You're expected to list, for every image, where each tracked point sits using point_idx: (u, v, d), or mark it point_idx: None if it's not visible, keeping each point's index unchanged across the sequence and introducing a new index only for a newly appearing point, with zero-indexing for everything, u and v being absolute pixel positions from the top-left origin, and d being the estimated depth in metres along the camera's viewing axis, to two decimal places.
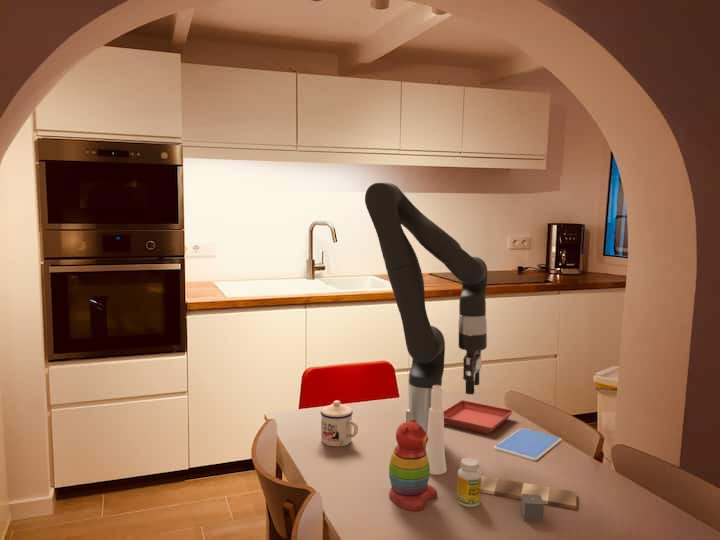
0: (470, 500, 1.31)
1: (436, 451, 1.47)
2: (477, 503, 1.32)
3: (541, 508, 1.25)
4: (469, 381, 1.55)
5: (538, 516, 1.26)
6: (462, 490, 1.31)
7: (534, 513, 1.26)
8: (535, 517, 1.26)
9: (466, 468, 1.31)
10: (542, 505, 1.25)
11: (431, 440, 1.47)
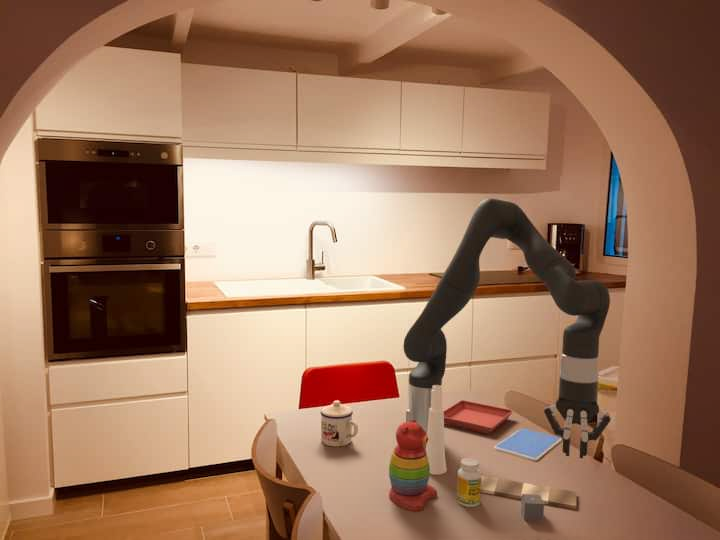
0: (470, 500, 1.31)
1: (436, 451, 1.47)
2: (477, 503, 1.32)
3: (541, 508, 1.25)
4: None
5: (538, 516, 1.26)
6: (462, 490, 1.31)
7: (534, 512, 1.26)
8: (535, 517, 1.26)
9: (466, 468, 1.31)
10: (542, 505, 1.25)
11: (431, 440, 1.47)
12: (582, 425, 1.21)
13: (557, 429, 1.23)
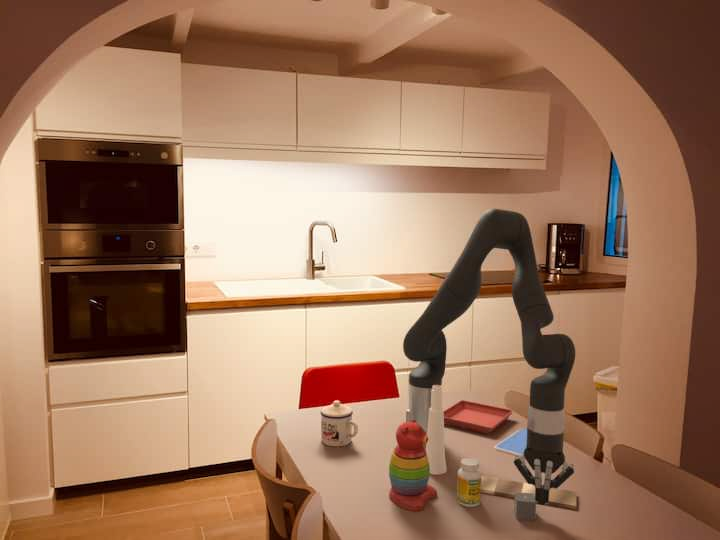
0: (470, 500, 1.31)
1: (436, 451, 1.47)
2: (477, 503, 1.32)
3: (534, 507, 1.26)
4: None
5: (530, 514, 1.26)
6: (462, 490, 1.31)
7: (526, 511, 1.26)
8: (527, 515, 1.26)
9: (466, 468, 1.31)
10: (534, 503, 1.26)
11: (431, 440, 1.47)
12: (546, 474, 1.24)
13: (529, 478, 1.26)
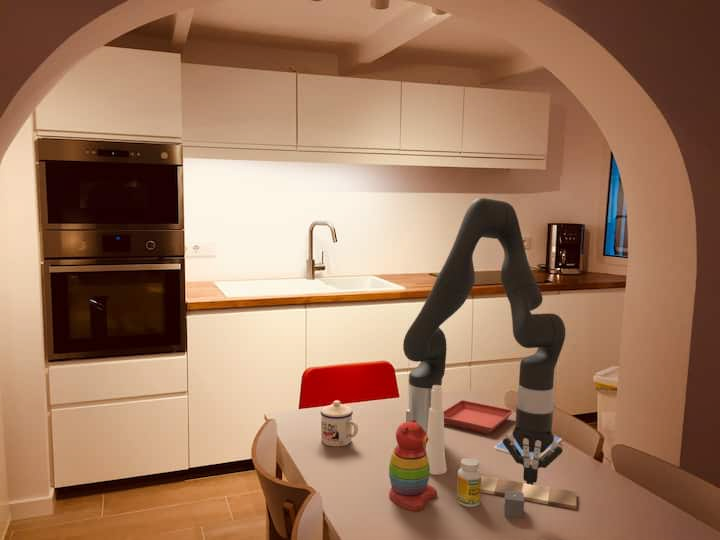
0: (470, 500, 1.31)
1: (436, 451, 1.47)
2: (477, 503, 1.32)
3: (522, 506, 1.27)
4: (538, 467, 1.26)
5: (518, 513, 1.27)
6: (462, 490, 1.31)
7: (514, 509, 1.27)
8: (515, 514, 1.27)
9: (466, 468, 1.31)
10: (522, 502, 1.27)
11: (431, 440, 1.47)
12: (535, 453, 1.24)
13: (518, 458, 1.26)
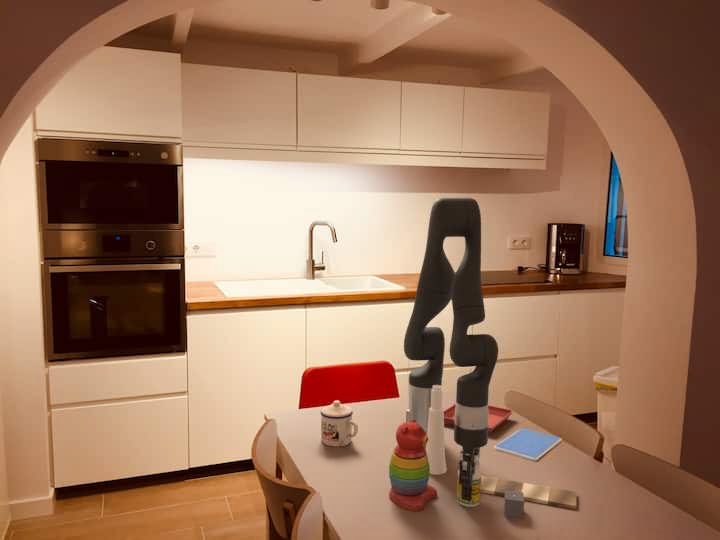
0: None
1: (436, 451, 1.47)
2: (477, 503, 1.32)
3: (522, 505, 1.27)
4: None
5: (518, 513, 1.27)
6: None
7: (514, 509, 1.27)
8: (515, 514, 1.27)
9: None
10: (522, 502, 1.27)
11: (431, 440, 1.47)
12: (478, 461, 1.34)
13: (470, 480, 1.27)
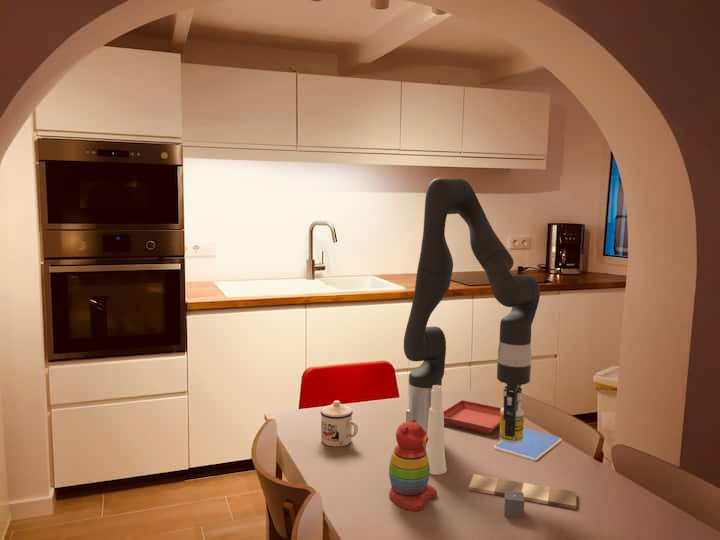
0: None
1: (436, 451, 1.47)
2: (520, 439, 1.36)
3: (522, 506, 1.27)
4: None
5: (518, 513, 1.27)
6: None
7: (514, 509, 1.27)
8: (515, 514, 1.27)
9: None
10: (522, 502, 1.27)
11: (431, 440, 1.47)
12: None
13: (515, 415, 1.32)
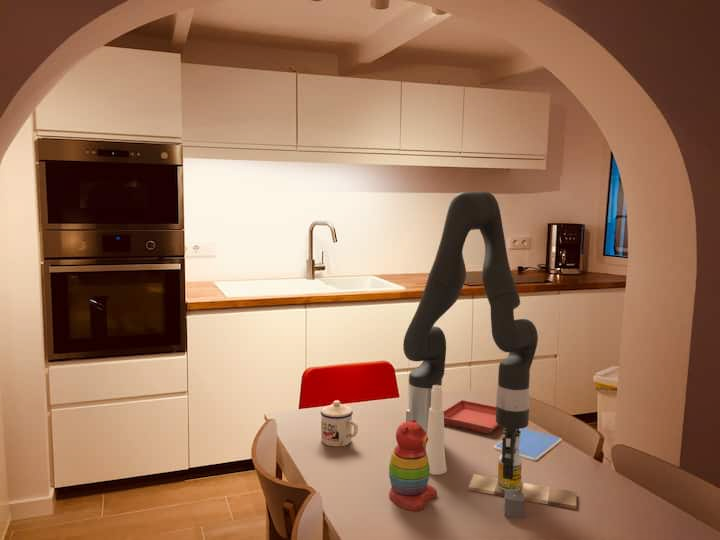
0: (511, 485, 1.36)
1: (436, 451, 1.47)
2: (518, 488, 1.37)
3: (522, 505, 1.27)
4: None
5: (518, 513, 1.27)
6: None
7: (515, 509, 1.27)
8: (515, 514, 1.27)
9: (507, 455, 1.36)
10: (522, 502, 1.27)
11: (431, 440, 1.47)
12: (519, 440, 1.40)
13: (513, 459, 1.32)
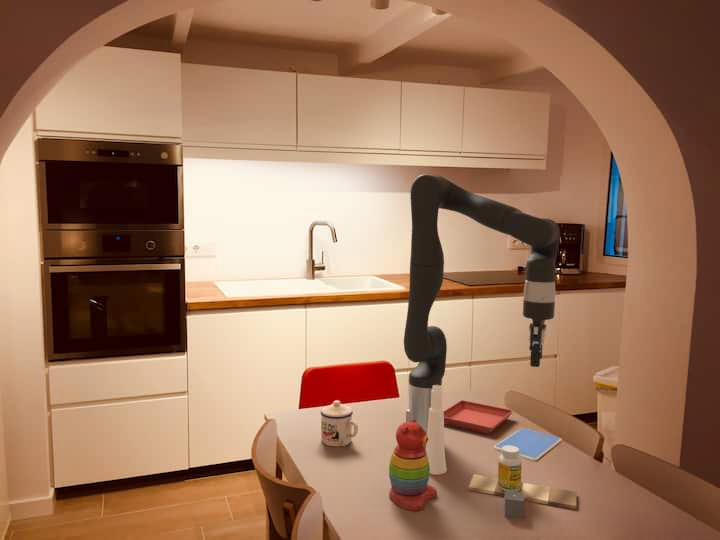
0: (511, 485, 1.36)
1: (436, 451, 1.47)
2: (518, 488, 1.37)
3: (522, 505, 1.27)
4: None
5: (519, 513, 1.27)
6: (503, 476, 1.37)
7: (515, 509, 1.27)
8: (515, 514, 1.27)
9: (507, 455, 1.36)
10: (522, 502, 1.27)
11: (431, 440, 1.47)
12: None
13: (540, 346, 1.41)
